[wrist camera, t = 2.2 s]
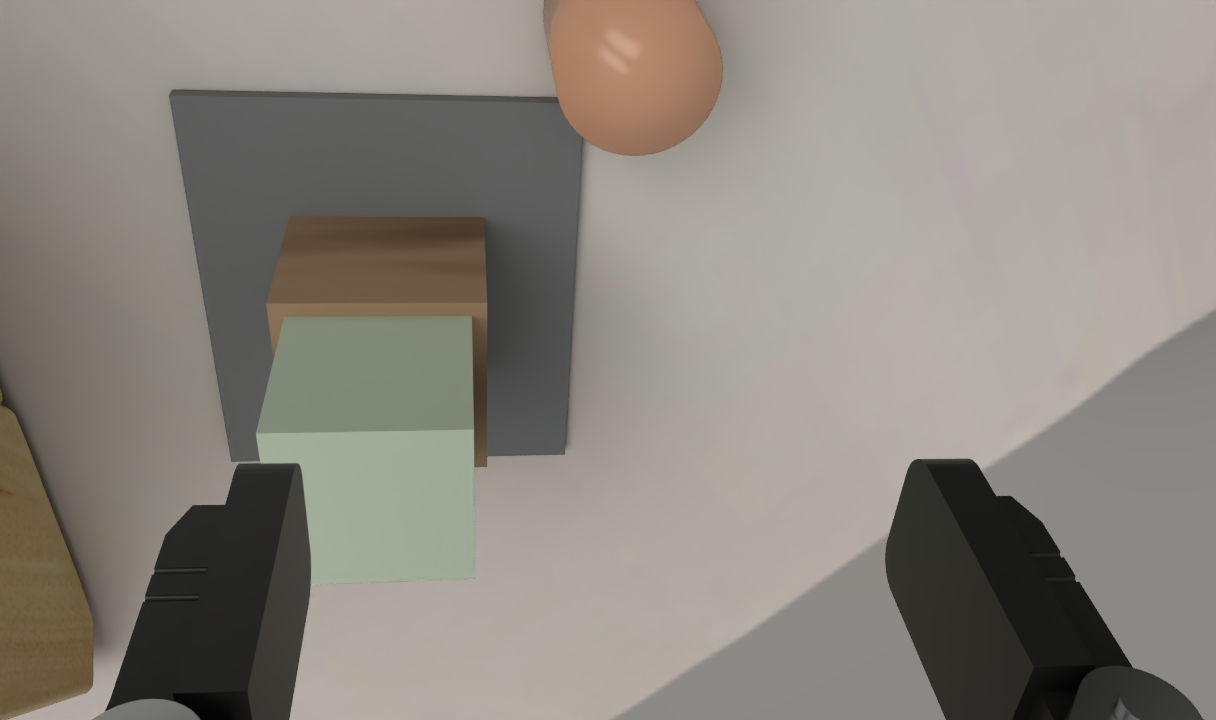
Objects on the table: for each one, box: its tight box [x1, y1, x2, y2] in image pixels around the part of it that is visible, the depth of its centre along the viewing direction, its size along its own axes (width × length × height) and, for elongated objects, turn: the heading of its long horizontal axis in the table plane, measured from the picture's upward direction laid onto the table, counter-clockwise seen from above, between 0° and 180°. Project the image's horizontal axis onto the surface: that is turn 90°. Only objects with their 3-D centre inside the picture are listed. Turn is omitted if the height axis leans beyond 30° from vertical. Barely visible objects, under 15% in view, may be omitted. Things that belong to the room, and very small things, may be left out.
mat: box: [169, 90, 582, 462], centre depth 42 cm, size 16×14×1 cm
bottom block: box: [266, 216, 487, 467], centre depth 40 cm, size 7×7×6 cm
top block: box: [256, 316, 475, 585], centre depth 35 cm, size 6×6×6 cm
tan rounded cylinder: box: [543, 0, 723, 156], centre depth 35 cm, size 5×5×6 cm
